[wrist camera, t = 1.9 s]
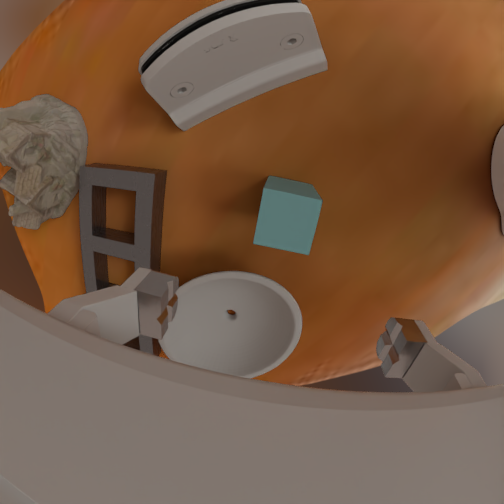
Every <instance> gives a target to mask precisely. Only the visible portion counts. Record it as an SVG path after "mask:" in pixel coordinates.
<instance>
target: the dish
mask: <svg viewBox="0 0 504 504" xmlns="http://www.w3.org/2000/svg"><path fill="white" fill-rule="evenodd" d="M175 293H176V295H177V297H178V305H177V311H176V314H175V317H174V319H173V321H172V322H169V323H168V329H167V331H166V333H165V335H164V336H163V338H162V340H160V339H158V340H159V343H160V346H161V348H162V349H163V351H164V353H165V354H166V355H167V356H168V358H169V359H170V360H172V361H176V362H180V363H183V364H187V365H191V366H195V367H199V368H203V369H207V370H211V371H216V372H220V373H225V374H229V375H234V376H239V377H244V378H253V377H256V376H259V375H262V374H264V373H266V372H268V371H270V370H272V369H273V368H275V367H277V366H278V365H279V364H281V363H282V362H283V361H284V360H285V359H286V358H287V357H288V356H289V355H290V354H291V353H292V351H293V350H294V348H295V347H296V345H297V343H298V341H299V338H300V335H301V331H302V316H301V311H300V309H299V306H298V304H297V302H296V300H295V299H294V298H293V296H292V295H291V294H290V293H289V292H288V291H287V290H286V289H285V288H284V287H283V286H281V285H280V284H278V283H277V282H275V281H273V280H271V279H269V278H267V277H264V276H262V275H258V274H255V273H250V272H243V271H221V272H214V273H210V274H206V275H203V276H200V277H197V278H195V279H192V280H190V281H188V282H187V283H185V284H183V285H182V286H180V287H179V288H178V289H177V291H176V292H175ZM227 310H233V311H235V312H236V313H235V314H234V315H230V314H229V313H228V312H227Z"/></svg>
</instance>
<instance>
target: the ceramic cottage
mask: <svg viewBox="0 0 504 504" xmlns="http://www.w3.org/2000/svg"><path fill="white" fill-rule="evenodd" d="M87 146H88V135H87V130H86V127H85V124H84V121H83V119H82V116H81V114H80V113H79V111H78V110H77V109H76V108H75V107H73V106H71V105H68V104H66V103H64V102H62V101H61V100H60V99H57V98H55V97H53V96H51V95H49V94H43V95H38V96H35V97H33V98H32V99H31V100H30V101H23V102H20V103H18V104H16V105H15V106H12V107H8V108H0V162H1V163H2V165H3V166H4V167H5V166H10V167H12V168H11V169H10V170H9V171H8V172H7V173H6V174H5V175H4V176H3V178H2V179H1V180H0V187H1V188H2V189H5V190H7V191H8V192H10V193H11V194H12V195H14V196H15V198H14V201H15V204H13V205H12V206H10V207H9V216H14V217H13V221H12V223H13V226H17V227H24V228H27V229H39V227H40V224H41V223H43V222H44V221H46V220H47V219H49V218H52V219H53V218H58V217H61V216H62V215H63V213H64V212H65V210H66V209H67V207H68V206H69V205H70V202H71V201H72V199H73V198H74V197H75V195H76V194H77V192H78V189H79V175H80V166H83V165H85V161H86V156H87Z"/></svg>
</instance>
